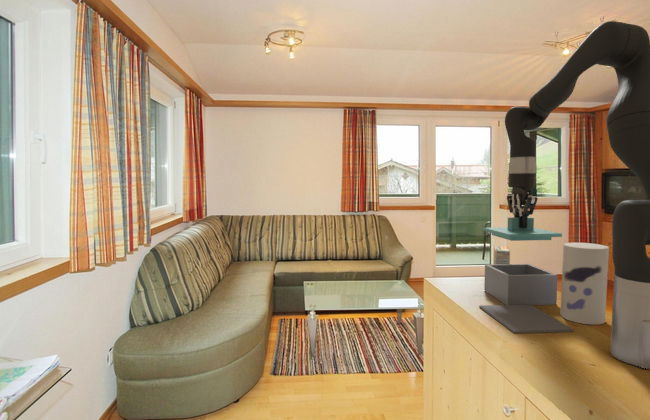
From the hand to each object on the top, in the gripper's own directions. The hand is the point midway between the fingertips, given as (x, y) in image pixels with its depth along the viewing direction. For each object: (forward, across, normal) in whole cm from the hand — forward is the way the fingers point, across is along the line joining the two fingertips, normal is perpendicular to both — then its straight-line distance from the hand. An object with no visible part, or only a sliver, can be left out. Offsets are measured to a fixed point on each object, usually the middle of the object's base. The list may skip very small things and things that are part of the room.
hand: (520, 227), depth 121 cm
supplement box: (+22, +15, -2) cm, 27 cm away
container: (+23, -19, -7) cm, 30 cm away
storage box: (+22, 0, 0) cm, 22 cm away
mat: (+22, -18, +9) cm, 30 cm away
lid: (+3, 0, 0) cm, 3 cm away
